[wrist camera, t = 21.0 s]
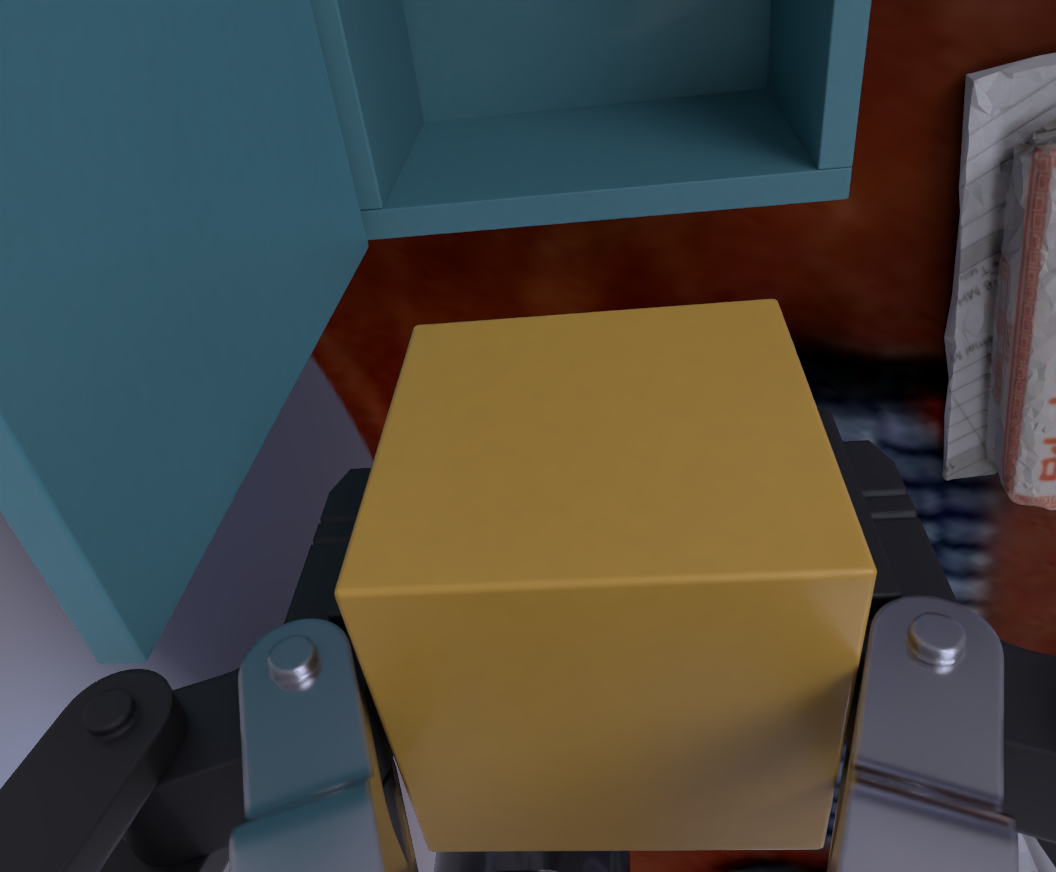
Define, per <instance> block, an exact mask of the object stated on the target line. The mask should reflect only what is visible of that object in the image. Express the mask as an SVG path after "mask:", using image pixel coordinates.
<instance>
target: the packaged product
mask: <svg viewBox="0 0 1056 872" xmlns="http://www.w3.org/2000/svg"><path fill="white" fill-rule="evenodd" d="M959 199H960V217H959V227H958V238H957V248H956V259H955V269H954V280H953V290H952V298H951V304H950V309H949V314H948V320H947V325H946V331H945V336H944V340H945V349H946V358H947V366H948V375H949V381H948V389H947V398H946V406H945V414H944V467H943V476H942V477H943V478H944V479H945V480H951V479H957V478H965V477H974V476H983V475H992V474H996V473H999V476H1000V479H1001V480H1000V482H1001V484H1002V485H1003V487H1004V490H1005V492H1006V493H1007V495H1008V496H1009V498H1010V499H1011V501H1013V502H1015V503H1016V504H1022V505H1028V506H1038V507H1042V508H1045V509H1048V510H1056V53H1051V54H1046V55H1040V56H1036V57H1032V58H1028V59H1024V60H1020V61H1017V62H1013V63H1009V64H1005V65H1001V66H997V67H993V68H990V69H986V70H982V71H978V72H974V73H970V74H966V84H965V100H964V116H963V132H962V148H961V164H960V180H959Z"/></svg>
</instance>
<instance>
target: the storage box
mask: <svg viewBox="0 0 1056 872" xmlns="http://www.w3.org/2000/svg"><path fill="white" fill-rule="evenodd" d="M310 3H311V7H312V11H313V15H314V19H315V24H316V28H317V32H318V36H319V40H320V45H321V49H322V53H323V57H324V61H325V66H326V70H327V74H328V78H329V82H330V86H331V91H332V95H333V99H334V103H335V107H336V112H337V116H338V120H339V124H340V128H341V132H342V137H343V141H344V145H345V149H346V153H347V158H348V162H349V166H350V170H351V174H352V178H353V183H354V187H355V191H356V195H357V199H358V204H359V208H360V212H361V216H362V220H363V225H364V229H365V233H366V237H367V240H375V239H387V238H399V237H410V236H422V235H433V234H445V233H457V232H468V231H480V230H492V229H503V228H515V227H527V226H538V225H550V224H562V223H573V222H585V221H597V220H608V219H620V218H632V217H643V216H655V215H667V214H678V213H690V212H702V211H713V210H725V209H736V208H748V207H760V206H771V205H783V204H795V203H806V202H818V201H830V200H841V199H848V197H849V189H850V180H851V172H852V168H851V166H852V163H853V155H854V146H855V137H856V129H857V120H858V112H859V103H860V94H861V86H862V77H863V68H864V60H865V51H866V43H867V34H868V25H869V17H870V8H871V0H310Z"/></svg>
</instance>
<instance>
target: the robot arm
mask: <svg viewBox="0 0 1056 872" xmlns="http://www.w3.org/2000/svg"><path fill="white" fill-rule="evenodd" d="M817 410H818V412H819V415H820V418H821V420H822V423H823V426H824V429H825V431H826V434H827V437H828V439H829V442H830V445H831V448H832V450H833V453H834V456H835V458H836V461H837V464H838V466H839V469H840V472H841V475H842V477H843V480H844V483H845V485H846V488H847V491H848V494H849V496H850V499H851V502H852V504H853V507H854V510H855V513H856V515H857V518H858V521H859V523H860V526H861V529H862V531H863V534H864V537H865V540H866V542H867V545H868V548H869V550H870V553H871V556H872V559H873V561H874V564H875V567H876V569H877V575H876V580H875V585H874V590H873V595H872V601H871V606H870V611H869V616H868V621H867V626H866V631H865V636H864V642H863V647H862V652H861V657H860V662H859V667H858V672H857V677H856V683H855V688H854V693H853V698H852V703H851V708H850V713H849V718H848V724H847V729H846V734H845V736H846V739H847V747H846V752H845V757H844V763H843V769H842V776H841V782H840V789H839V795H838V802H837V808H836V815H835V821H834V828H833V834H832V841H831V847H830V853H829V860H828V866H827V872H1019V846H1018V833H1020V834H1024V835H1027V836H1031V837H1034V838H1036V840H1037V841H1038V843H1039V844H1040V846H1041V847H1042V849H1043V850H1044V852H1045V853H1046V855H1047V856H1048V858H1049V859H1050V861H1051V862H1052V863H1053V865H1054V866H1055V868H1056V656H1052V655H1048V654H1043V653H1039V652H1034V651H1030V650H1027V649H1023V648H1020V647H1017V646H1014V645H1012V644H1009V643H1007V642H1005V641H1003V640H1001V639H999V638H998V636H997V634H996V633H995V631H994V630H993V629H992V628H991V626H990V625H989V624H988V623H987V622H986V621H985V620H984V619H982V618H981V617H980V616H979V615H977V614H976V613H974V612H973V611H972V610H970V609H968V608H966V607H964V606H962V605H960V604H959V603H958V602H957V600H956V598H955V596H954V594H953V592H952V589H951V587H950V585H949V583H948V580H947V578H946V576H945V574H944V572H943V569H942V567H941V565H940V563H939V561H938V558H937V556H936V554H935V552H934V549H933V547H932V545H931V543H930V541H929V538H928V536H927V534H926V532H925V530H924V527H923V525H922V523H921V521H920V518H919V517H917V516H916V510H915V507H914V505H913V503H912V501H911V499H910V496H909V495H907V493H906V488H905V485H904V483H903V481H902V479H901V476H900V474H899V472H898V470H897V468H896V465H895V463H894V462H893V461H892V460H890V459H889V458H888V457H887V456H886V455H885V454H884V453H882V452H881V451H880V450H879V449H878V448H877V447H876V446H874V445H873V444H872V443H871V442H870V441H869V440H866V441H848V442H842V439H841V436H840V434H839V431H838V429H837V426H836V424H835V421H834V418H833V416H832V413H831V411H830V410H829V409H828V408H817ZM379 442H380V441H379ZM378 445H379V444H378ZM377 448H378V447H377ZM376 452H377V451H376ZM375 455H376V454H375ZM374 458H375V457H374ZM373 462H374V461H373ZM372 465H373V464H372ZM371 468H372V467H371ZM371 468H361V469H350V470H349V472H348V473H347V474H346V475H345V476H344V477H343V478H342V479H341V480H340V481H339V483H338V484H337V485H336V486H335V487H334V488H333V489H332V490H331V492H330V493H329V496H328V498H327V501H326V504H325V507H324V510H323V513H322V516H321V524H318V528H317V530H316V533H315V536H314V539H313V542H314V543H313V545H311V548H310V550H309V553H308V556H307V559H306V562H305V565H304V568H303V570H302V573H301V576H300V579H299V582H298V585H297V588H296V590H295V593H294V596H293V599H292V602H291V605H290V608H289V611H288V614H287V617H286V619H285V622H284V624H283V625H280V626H279V627H277V628H275V629H273V630H271V631H270V632H268V633H267V634H265V635H264V636H262V637H261V638H260V639H259V640H258V641H257V642H256V643H255V644H254V645H253V646H252V647H251V648H250V650H249V651H248V652H247V654H246V655H245V657H244V659H243V661H242V663H241V666H240V668H238V669H236V670H234V671H232V672H229V673H227V674H224V675H221V676H218V677H214V678H211V679H208V680H205V681H202V682H199V683H195V684H192V685H189V686H186V687H182V688H179V689H176V690H172V689H171V687H170V685H169V684H168V682H167V680H166V679H165V678H164V677H162V676H161V675H159V674H158V673H156V672H153V671H150V670H144V669H131V670H125V671H120V672H117V673H115V674H111V675H109V676H107V677H105V678H102V679H100V680H98V681H97V682H95V683H93V684H92V685H90V686H89V687H87V688H86V689H85V690H83V691H82V692H81V693H80V694H79V695H77V696H76V697H75V698H74V699H73V700H72V701H71V702H70V703H69V704H68V706H67V707H66V708H65V709H64V710H63V712H62V713H61V714H60V715H59V717H58V718H57V719H56V720H55V722H54V723H53V724H52V725H51V727H50V728H49V729H48V730H47V732H46V733H45V734H44V735H43V737H42V738H41V739H40V740H39V742H38V743H37V744H36V745H35V747H34V748H33V749H32V751H31V752H30V753H29V754H28V755H27V757H26V758H25V759H24V760H23V762H22V763H21V764H20V765H19V767H18V768H17V769H16V770H15V772H14V773H13V774H12V775H11V777H10V778H9V779H8V780H7V782H6V783H5V784H4V785H3V787H2V788H1V789H0V872H223V871H224V869H225V867H226V865H227V863H228V861H229V872H418V868H417V863H416V858H415V854H414V849H413V844H412V839H411V835H410V830H409V825H408V821H407V816H406V811H405V807H404V802H403V797H402V792H401V788H400V783H399V778H398V773H397V769H396V765H395V762H394V760H393V752H392V749H391V747H390V744H389V741H388V739H387V736H386V733H385V731H384V728H383V725H382V722H381V720H380V717H379V714H378V712H377V709H376V706H375V704H374V701H373V698H372V695H371V693H370V690H369V687H368V685H367V682H366V679H365V677H364V674H363V671H362V668H361V666H360V663H359V660H358V658H357V655H356V652H355V650H354V647H353V644H352V641H351V639H350V636H349V633H348V631H347V628H346V625H345V623H344V620H343V617H342V615H341V612H340V609H339V606H338V604H337V601H336V598H335V594H334V592H335V588H336V584H337V581H338V578H339V574H340V571H341V568H342V565H343V561H344V558H345V555H346V551H347V548H348V545H349V541H350V538H351V535H352V531H353V528H354V525H355V521H356V518H357V515H358V511H359V508H360V505H361V501H362V498H363V495H364V491H365V488H366V485H367V482H368V478H369V475H370V472H371ZM434 872H630V850H628V851H472V852H437V853H436V860H435V868H434Z"/></svg>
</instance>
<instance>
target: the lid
mask: <svg viewBox="0 0 1056 872" xmlns="http://www.w3.org/2000/svg"><path fill="white" fill-rule="evenodd" d="M368 246H369V245H368V241H367V237H366V233H365V229H364V225H363V220H362V216H361V212H360V208H359V204H358V199H357V195H356V191H355V187H354V183H353V178H352V174H351V170H350V166H349V162H348V158H347V153H346V149H345V145H344V141H343V137H342V132H341V128H340V124H339V120H338V116H337V112H336V107H335V103H334V99H333V95H332V91H331V86H330V82H329V78H328V74H327V70H326V66H325V61H324V57H323V53H322V49H321V45H320V40H319V36H318V32H317V28H316V24H315V19H314V15H313V11H312V7H311V3H310V0H0V512H1V513H2V515H3V516H4V518H5V519H6V521H7V523H8V524H9V526H10V527H11V529H12V530H13V532H14V534H15V535H16V537H17V538H18V540H19V541H20V543H21V544H22V546H23V548H24V549H25V551H26V552H27V554H28V555H29V557H30V558H31V560H32V561H33V563H34V565H35V566H36V568H37V569H38V571H39V572H40V574H41V575H42V577H43V578H44V580H45V582H46V583H47V585H48V586H49V588H50V589H51V591H52V593H53V594H54V596H55V597H56V599H57V600H58V602H59V603H60V605H61V606H62V608H63V610H64V611H65V613H66V614H67V616H68V617H69V619H70V621H71V622H72V624H73V625H74V627H75V629H76V630H77V632H78V633H79V635H80V636H81V638H82V639H83V641H84V642H85V644H86V646H87V647H88V649H89V650H90V652H91V653H92V655H93V656H94V658H95V660H96V661H97V662H98V663H99V664H143V663H145V662H146V661H147V659H148V657H149V656H150V654H151V652H152V650H153V648H154V646H155V645H156V643H157V641H158V639H159V637H160V635H161V633H162V631H163V629H164V628H165V626H166V624H167V622H168V620H169V618H170V617H171V615H172V613H173V611H174V609H175V607H176V605H177V604H178V602H179V600H180V598H181V596H182V594H183V592H184V590H185V589H186V587H187V585H188V583H189V581H190V579H191V577H192V576H193V574H194V572H195V570H196V568H197V566H198V564H199V562H200V560H201V559H202V557H203V555H204V553H205V551H206V549H207V548H208V546H209V544H210V542H211V540H212V538H213V536H214V534H215V532H216V531H217V529H218V527H219V525H220V523H221V521H222V519H223V518H224V516H225V514H226V512H227V510H228V508H229V507H230V504H231V503H232V501H233V499H234V497H235V495H236V493H237V491H238V490H239V488H240V486H241V484H242V482H243V480H244V479H245V477H246V475H247V473H248V471H249V469H250V467H251V465H252V463H253V462H254V460H255V458H256V456H257V454H258V452H259V451H260V449H261V447H262V445H263V443H264V441H265V439H266V437H267V435H268V434H269V432H270V430H271V428H272V426H273V424H274V422H275V421H276V419H277V417H278V415H279V413H280V411H281V409H282V408H283V406H284V404H285V402H286V400H287V398H288V396H289V395H290V393H291V391H292V389H293V387H294V385H295V383H296V381H297V380H298V378H299V376H300V374H301V372H302V370H303V368H304V367H305V365H306V363H307V361H308V359H309V357H310V355H311V354H312V352H313V350H314V348H315V346H316V344H317V342H318V340H319V339H320V337H321V335H322V333H323V331H324V329H325V327H326V326H327V324H328V322H329V320H330V318H331V316H332V314H333V313H334V311H335V309H336V307H337V305H338V303H339V301H340V299H341V298H342V296H343V294H344V292H345V290H346V288H347V286H348V285H349V283H350V281H351V279H352V277H353V275H354V273H355V271H356V270H357V268H358V266H359V264H360V262H361V260H362V258H363V257H364V255H365V253H366V251H367V249H368Z"/></svg>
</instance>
